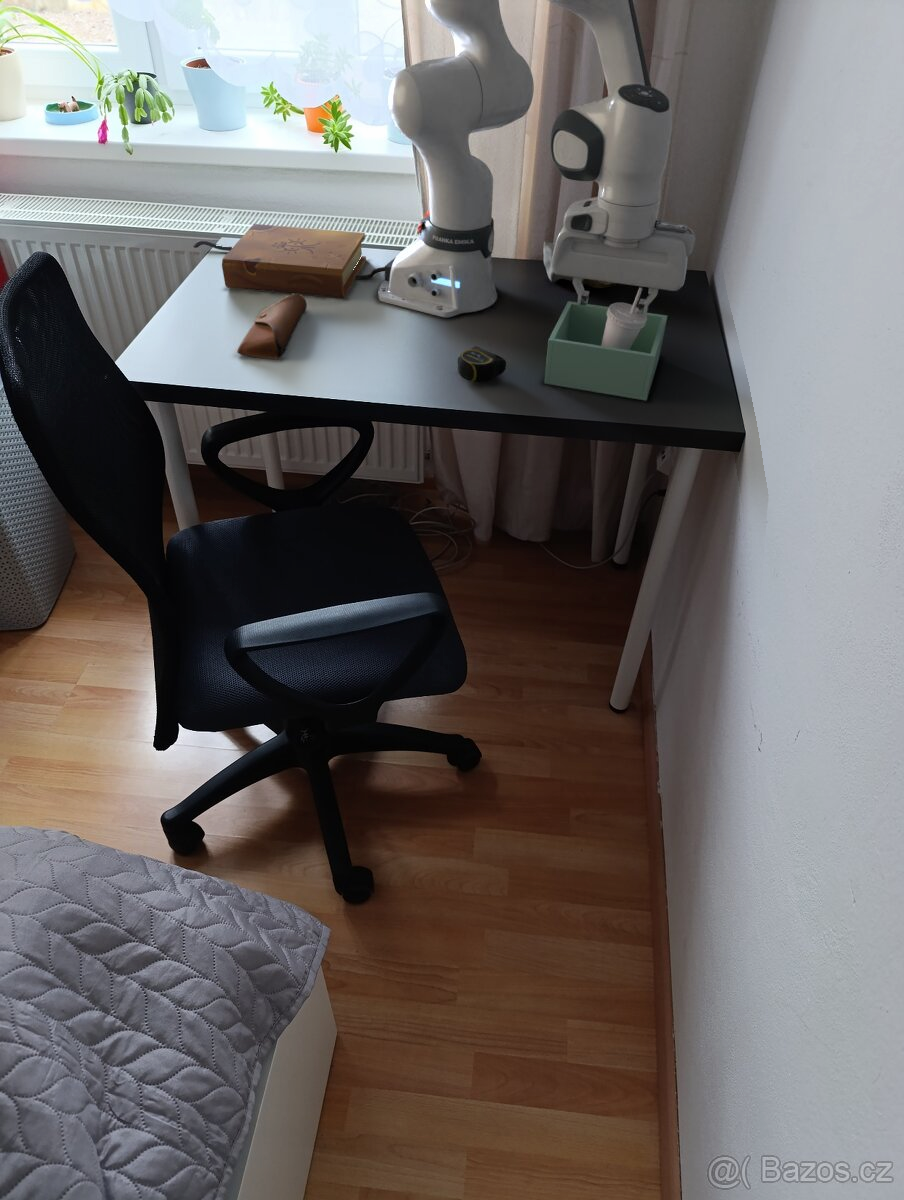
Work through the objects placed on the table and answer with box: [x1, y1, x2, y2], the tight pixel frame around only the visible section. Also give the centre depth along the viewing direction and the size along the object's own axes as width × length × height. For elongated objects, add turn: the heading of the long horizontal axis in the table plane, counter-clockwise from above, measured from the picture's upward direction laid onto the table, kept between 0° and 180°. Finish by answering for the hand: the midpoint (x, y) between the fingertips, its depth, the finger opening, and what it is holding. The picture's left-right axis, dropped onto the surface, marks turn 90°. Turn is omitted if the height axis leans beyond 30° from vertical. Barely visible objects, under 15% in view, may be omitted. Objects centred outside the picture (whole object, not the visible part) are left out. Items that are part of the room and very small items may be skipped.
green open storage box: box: [544, 300, 668, 401], centre depth 136 cm, size 17×15×8 cm
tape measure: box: [457, 345, 507, 384], centre depth 135 cm, size 7×7×4 cm
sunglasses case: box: [236, 293, 308, 360], centre depth 145 cm, size 18×7×7 cm, turn 175°
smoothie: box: [601, 286, 647, 350], centre depth 132 cm, size 6×6×14 cm
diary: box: [221, 223, 367, 299], centre depth 162 cm, size 23×19×6 cm
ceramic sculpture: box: [542, 241, 618, 289], centre depth 160 cm, size 11×9×15 cm
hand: (612, 308), depth 131 cm, fingers open, 8 cm apart
